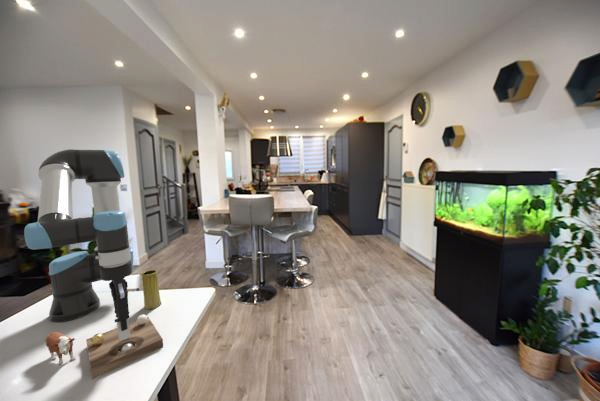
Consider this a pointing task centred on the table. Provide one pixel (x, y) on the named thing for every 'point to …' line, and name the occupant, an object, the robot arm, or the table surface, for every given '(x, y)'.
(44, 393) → the table surface
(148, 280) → the vase
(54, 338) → the bull figurine
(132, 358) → the board
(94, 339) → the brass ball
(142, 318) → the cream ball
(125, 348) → the steel ball
